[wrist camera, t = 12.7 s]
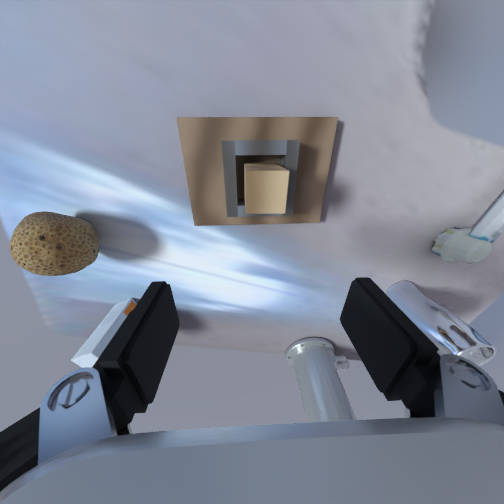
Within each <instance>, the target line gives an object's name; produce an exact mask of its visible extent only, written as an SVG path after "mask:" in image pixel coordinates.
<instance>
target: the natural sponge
mask: <svg viewBox="0 0 504 504" xmlns="http://www.w3.org/2000/svg"><path fill="white" fill-rule="evenodd" d="M10 249H11V255H12V257H13V259H14V261H15V262H16V263H17V264H18V265H19V266H20V267H22V268H24V269H25V270H27V271H29V272H31V273H34V274H38V275H47V276H58V275H66V274H70V273H75V272H78V271H80V270H82V269H84V268H85V267H86V266H88V265H90V264H92V263H93V262H94V261H95V260H96V258H97V256H98V252H99V243H98V237H97V233H96V230H95V229H94V228H93V226H92V225H91V224H90V223H89V222H87V221H85V220H83V219H80V218H76V217H72V216H67V215H62V214H58V213H53V212H36V213H32V214H30V215H28V216H26V217H25V218H24V219H23V220H22V221H21V222H20V223H19V224H18V226H17V227H16V228H15V230H14V232H13V235H12V238H11V241H10Z"/></svg>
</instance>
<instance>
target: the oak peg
mask: <svg viewBox="0 0 504 504" xmlns="http://www.w3.org/2000/svg"><path fill="white" fill-rule="evenodd" d="M288 180H289V170H287V169H285V168H283V167H281V166H280V165H278V164H276V163H274V162H244V195H245V210H246V214H285V210H286V200H287V190H288Z"/></svg>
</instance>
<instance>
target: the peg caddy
mask: <svg viewBox="0 0 504 504" xmlns="http://www.w3.org/2000/svg"><path fill="white" fill-rule="evenodd" d="M337 121H338V117H190V118H177V123H178V129H179V135H180V141H181V147H182V153H183V159H184V165H185V171H186V177H187V183H188V189H189V195H190V201H191V207H192V213H193V219H194V225H195V226H203V225H243V224H283V223H320V217H321V211H322V206H323V200H324V195H325V189H326V183H327V178H328V172H329V166H330V161H331V155H332V149H333V144H334V138H335V133H336V127H337ZM244 162H274V163H276V164H278V165H280V166H281V167H283V168H285V169H287V170H289V180H288V190H287V200H286V210H285V214H246V210H245V195H244Z"/></svg>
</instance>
